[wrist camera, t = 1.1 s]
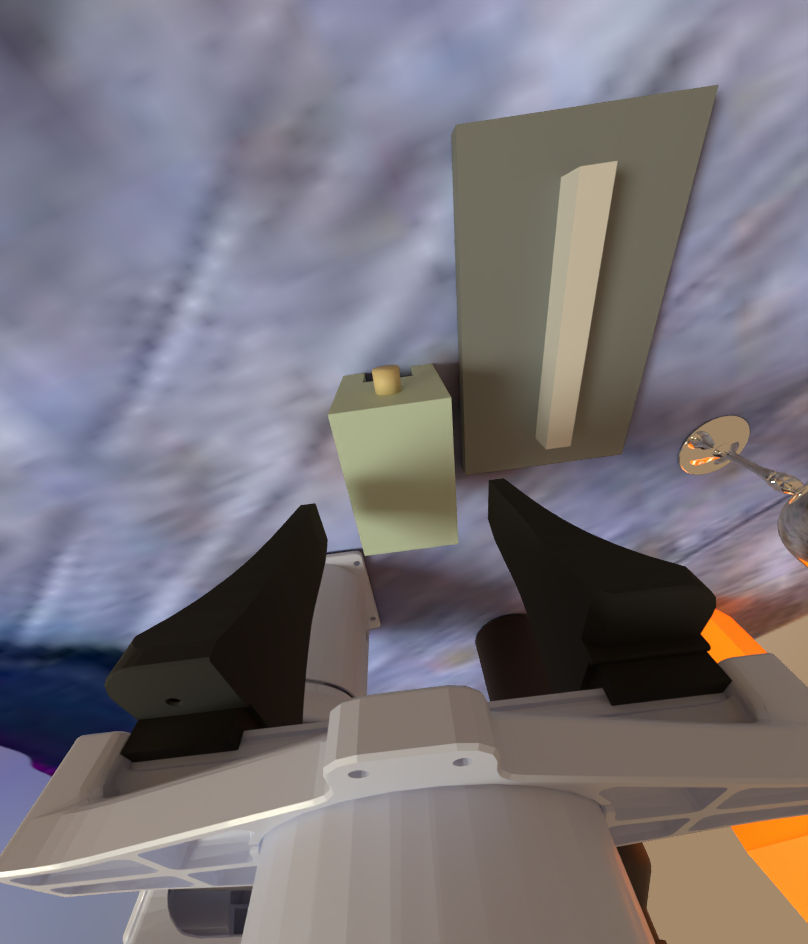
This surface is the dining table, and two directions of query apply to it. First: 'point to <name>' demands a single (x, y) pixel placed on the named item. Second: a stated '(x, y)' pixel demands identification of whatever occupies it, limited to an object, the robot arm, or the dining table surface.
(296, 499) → the dining table surface
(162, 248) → the dining table surface
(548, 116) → the cleat board
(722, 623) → the orange juice
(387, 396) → the cabinet block
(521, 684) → the bottle
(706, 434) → the wineglass
